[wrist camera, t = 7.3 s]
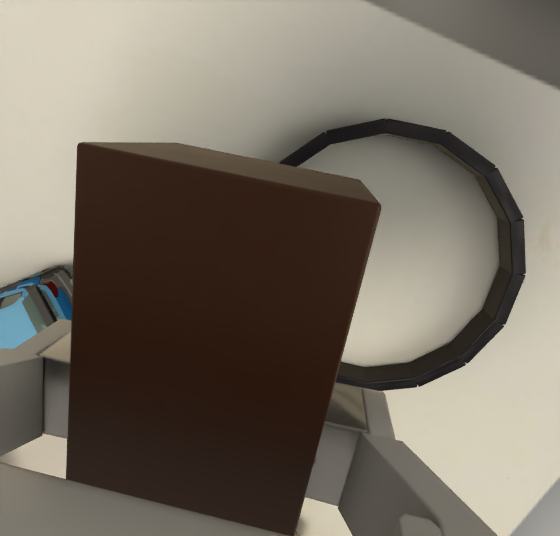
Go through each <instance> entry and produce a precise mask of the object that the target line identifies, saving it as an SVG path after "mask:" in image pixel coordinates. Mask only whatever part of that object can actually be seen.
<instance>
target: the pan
mask: <svg viewBox="0 0 560 536" xmlns="http://www.w3.org/2000/svg"><path fill="white" fill-rule="evenodd" d="M326 132H327V135H326V133H325V132H323V133H321V134H320V135H318V136H317V137H316V138H314V139H313V140H311V141H310V142H308V143H307V144H305V145H304V146H302V147H301V148H300V149H298V150H297V151H295V152H294V153H292V154H291V155H289V156H288V157H286V158H285V159H283V160H282V161H281V162H279V164H284V165H289V166H294V167H297V166H299V165H300V164H302V163H303V162H305V161H306V160H308V159H309V158H311V157H312V156H314V155H315V154H317V153H318V152H320V151H321V150H323V149H324V148H326V147H327V146H329V145H330V144H335V143H340V142H345V141H350V140H354V139H359V138H364V137H369V136H374V135H379V134H385V135H390V136H394V137H399V138H404V139H409V140H414V141H419V142H423V143H428V144H433V145H434V146H435V147H437V148H438V149H440V150H441V151H442V152H444V153H445V154H446V155H448V156H449V157H451V158H452V159H453V160H455V161H456V162H457V163H459V164H460V165H462V166H463V167H464V168H466V169H467V170H468V171H470V172H471V173H473V174H474V175H475V177H476V179H477V181H478V183H479V185H480V186H481V188H482V190H483V192H484V194H485V196H486V197H487V199H488V201H489V203H490V205H491V207H492V209H493V210H494V212H495V214H496V216H497V219H498V238H499V257H500V266H499V269H498V272H497V274H496V277H495V279H494V282H493V285H492V287H491V290H490V292H489V295H488V298H487V300H486V303H485V305H484V308H483V310H482V311H481V312H480V313H479V314H478V315H477V316H476V317H475V318H474V319H473V320H472V321H471V322H470V323H469V324H468V325H467V326H466V328H465V329H464V330H463V331H462V332H461V333H460V334H459V335H458V336H457V337H456V338H455V339H454V340H453V341H452V342H451V343H449V344H447V345H445V346H443V347H441V348H439V349H437V350H435V351H433V352H431V353H429V354H427V355H425V356H423V357H421V358H419V359H417V360H415V361H413V362H410V363H406V364H397V365H388V366H379V367H369V368H363V367H359V366H355V365H351V364H346V363H342V362H340V366H339V370H338V373H337V377H336V381H335V382H337V383H341V384H346V385H351V386H356V387H361V388H366V389H371V390H376V391H384V390H394V389H404V388H414V387H417V384H418V386H419V387H420V386H422V385H424V384H427V383H429V382H431V381H433V380H435V379H437V378H439V377H441V376H444V375H446V374H448V373H450V372H452V371H454V370H456V369H459V368H461V367H463V366H465V365H466V364H465V362H466V363H469V362H470V361H471V360H472V359H473V358H474V357H475V355H476V354H477V353H478V352H479V351H480V350H481V349H482V348H483V347H484V346H485V345H486V344H487V343H488V342H489V341H490V340H491V339H492V338H493V337H494V336H495V335H496V334H497V333H498V332H499V331H500V330H501V329H502V328H503V327H504V326H503V324H506V322H507V319H508V317H509V314H510V312H511V309H512V307H513V305H514V302H515V300H516V297H517V295H518V292H519V290H520V288H521V285H522V283H523V280H524V278H525V275H524V274H525V273H526V267H525V239H524V220H523V219H521V218H523V215H522V214H521V212H520V210H519V208H518V206H517V204H516V202H515V200H514V198H513V197H512V195H511V193H510V191H509V189H508V187H507V185H506V183H505V181H504V180H503V178H502V176H501V174H500V172H499V170H498V168H495V165H494V164H492V163H491V162H490V161H488V160H487V159H486V158H484V157H483V156H482V155H480V154H479V153H477V152H476V151H475V150H473V149H472V148H471V147H469V146H468V145H467V144H465V143H464V142H462V141H461V140H460V139H458V138H457V137H456V136H454V135H453V134H452V133H450V132H446V130H442V129H437V128H432V127H427V126H422V125H418V124H413V123H408V122H403V121H398V120H393V119H380V120H375V121H370V122H366V123H361V124H356V125H351V126H346V127H342V128H337V129H332V130H327V131H326Z"/></svg>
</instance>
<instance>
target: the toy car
mask: <svg viewBox="0 0 560 536" xmlns="http://www.w3.org/2000/svg"><path fill="white" fill-rule="evenodd" d="M72 289H73V278H72V277H71V276H70V274H69V272H68V271H67V270H66V269H65V268H64V266H55V267H51V268H49V269H47V270H43V271H41V272H39V273H36V274H35V275H32V276H31V277H28V278H26V279H24V280H21V281H19V282H16V283H14V284H11V285H9V286H6V287H4V288H2V289H0V349H3V348H8V349H14V348H16V347H17V346H19V345H20V344H22V343H23V342H25V341H27V340H28V339H30V338H31V337H33V336H34V335H36V334H37V333H39V332H41V331H42V330H44V329H45V328H47V327H48V326H50V325H52V324H53V323H55V322H56V321H58V320H59V319H67V320H71V319H72Z"/></svg>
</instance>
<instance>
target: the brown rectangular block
mask: <svg viewBox="0 0 560 536" xmlns="http://www.w3.org/2000/svg"><path fill="white" fill-rule="evenodd" d="M380 211H381V204H380V203H379V202H378V201H377V200H376V198H375V197H374V196H373V195H372V194H371V192H370V191H369V190H368V189H367V188H366V186H365V185H364V184H363V183H362V182H361V181H360V180H358V179H353V178H348V177H343V176H338V175H333V174H328V173H323V172H318V171H313V170H308V169H303V168H298V167H294V166H289V165H284V164H279V163H274V162H269V161H264V160H259V159H254V158H249V157H244V156H239V155H234V154H229V153H224V152H219V151H214V150H209V149H204V148H199V147H194V146H189V145H184V144H179V143H107V142H82V143H79V144H78V146H77V170H76V200H75V230H74V259H73V289H72V319H71V348H70V378H69V408H68V437H67V467H66V480H70V481H74V482H78V483H82V484H86V485H90V486H94V487H98V488H102V489H106V490H110V491H114V492H118V493H122V494H126V495H130V496H134V497H138V498H142V499H146V500H149V501H153V502H157V503H161V504H165V505H169V506H173V507H177V508H181V509H185V510H189V511H193V512H197V513H201V514H205V515H209V516H213V517H217V518H221V519H225V520H229V521H233V522H237V523H241V524H245V525H249V526H253V527H257V528H261V529H264V530H268V531H272V532H276V533H280V534H284V535H288V536H294V535H295V532H296V528H297V524H298V520H299V517H300V513H301V509H302V505H303V502H304V498H305V494H306V490H307V486H308V483H309V479H310V475H311V471H312V468H313V464H314V460H315V456H316V453H317V449H318V445H319V441H320V437H321V434H322V430H323V426H324V422H325V419H326V415H327V411H328V407H329V404H330V400H331V396H332V392H333V388H334V385H335V381H336V377H337V373H338V370H339V366H340V362H341V358H342V355H343V351H344V347H345V343H346V339H347V336H348V332H349V328H350V324H351V321H352V317H353V313H354V309H355V306H356V302H357V298H358V294H359V290H360V287H361V283H362V279H363V275H364V272H365V268H366V264H367V260H368V257H369V253H370V249H371V245H372V241H373V238H374V234H375V230H376V226H377V223H378V219H379V215H380Z"/></svg>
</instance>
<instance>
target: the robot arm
mask: <svg viewBox="0 0 560 536" xmlns="http://www.w3.org/2000/svg"><path fill="white" fill-rule="evenodd" d="M70 348H71V320H67V319H59V320H58V321H56V322H55V323H53V324H52V325H50V326H48V327H47V328H45V329H44V330H42V331H41V332H39V333H37V334H36V335H34V336H33V337H31V338H30V339H28V340H27V341H25V342H23V343H22V344H20V345H19V346H17V347H16V348H14V349H8V348H3V349H0V456H2V455H4V454H6V453H8V452H10V451H12V450H14V449H16V448H18V447H20V446H22V445H24V444H26V443H28V442H30V441H32V440H34V439H36V438H38V437H40V436H42V433H44V434H49V435H53V436H58V437H62V438H67V437H68V408H69V378H70ZM305 497H307V498H310V499H314V500H318V501H321V502H325V503H328V504H332V505H336V506H338V509H339V511H340V513H341V515H342V517H343V518H344V520H345V522H346V524H347V526H348V528H349V530H350V531H351V533H352V535H353V536H497V534H496V533H494V532H493V531H492V530H491V529H490V528H489V527H488V526H487V525H486V524H485V523H484V522H483V521H482V520H481V519H480V518H479V517H478V516H477V515H476V514H475V513H474V512H473V511H472V510H471V509H470V508H469V507H468V506H467V505H466V504H465V503H464V502H463V501H462V500H461V499H460V498H459V497H458V496H457V495H456V494H455V493H454V492H453V491H452V490H451V489H450V488H449V487H448V486H447V485H446V484H445V483H444V482H443V481H442V480H441V479H440V478H439V477H438V476H437V475H436V474H435V473H434V472H433V471H432V470H431V469H430V468H429V467H428V466H427V465H426V464H425V463H424V462H423V461H422V460H421V459H420V458H419V457H418V456H417V455H415V454H414V453H413V452H412V451H411V450H410V449H409V448H408V447H407V446H406V445H405V444H404V443H403V442H402V441H398V440H396V439H395V435H394V431H393V426H392V422H391V418H390V413H389V409H388V405H387V400H386V396H385V394H384V393H383V392H382V391H376V390H371V389H366V388H361V387H356V386H351V385H346V384H341V383H337V382H335V385H334V388H333V392H332V396H331V400H330V404H329V407H328V411H327V415H326V419H325V422H324V426H323V430H322V434H321V437H320V441H319V445H318V449H317V453H316V456H315V460H314V464H313V468H312V471H311V475H310V479H309V483H308V486H307V490H306V494H305ZM0 536H288V535H284V534H280V533H276V532H272V531H268V530H264V529H261V528H257V527H253V526H249V525H245V524H241V523H237V522H233V521H229V520H225V519H221V518H217V517H213V516H209V515H205V514H201V513H197V512H193V511H189V510H185V509H181V508H177V507H173V506H169V505H165V504H161V503H157V502H153V501H149V500H146V499H142V498H138V497H134V496H130V495H126V494H122V493H118V492H114V491H110V490H106V489H102V488H98V487H94V486H90V485H86V484H82V483H78V482H74V481H70V480H66V479H62V478H59V477H55V476H51V475H47V474H43V473H39V472H35V471H31V470H27V469H23V468H19V467H15V466H11V465H7V464H3V463H0Z"/></svg>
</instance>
